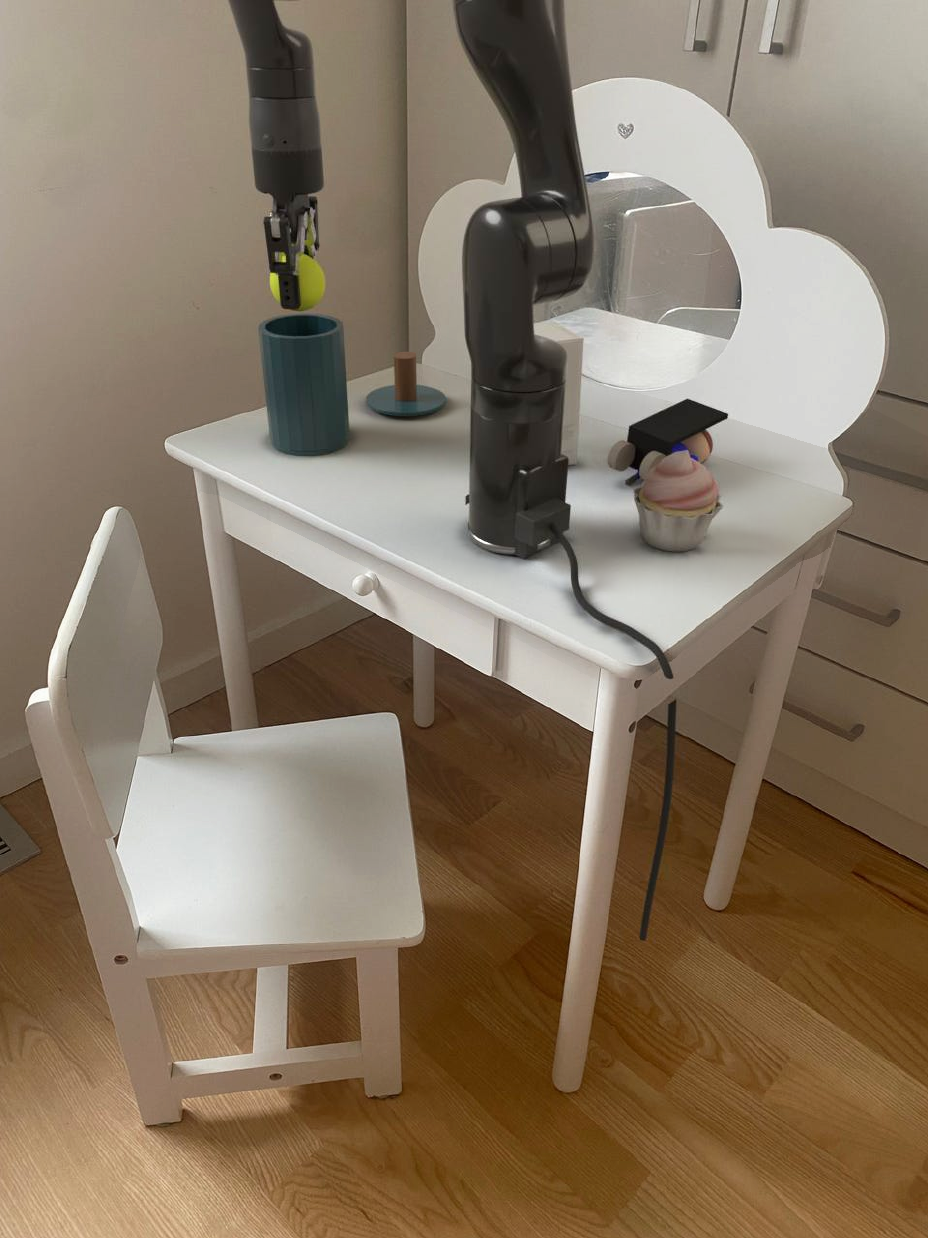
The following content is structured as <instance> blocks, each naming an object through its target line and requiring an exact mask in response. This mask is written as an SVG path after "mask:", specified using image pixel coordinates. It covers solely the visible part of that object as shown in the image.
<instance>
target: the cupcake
mask: <svg viewBox="0 0 928 1238" xmlns="http://www.w3.org/2000/svg"><path fill="white" fill-rule="evenodd" d="M632 491H633V494H634V497H633V500H634V504H635V507H636V509H637V512H638V520H639V530H640V534H641V536H642V539H643V541H644V542H645V543H646V544H648V545H650V546H651V547H654V548H656V549H658V550H662V551H667V552H675V553H676V552H687V551H691V550H693V549H696V548H698V547H699V545H700V544H701V543H702V542H703V540H704V537H705V535H706V533H707V531H708V529H709V527H710V525H711V524H712V521H713V519H714V518H716V516H717V515H718V514H719V512H720V511H721V510H723V508H724V507H725V506H724V504H723V503H722V502H720V501H721V498H722V495H721V494H720V492H719V484H718V482H717V481H716V480H715V478H714V477H713V476H711V474H710V471H709V469H708V468H706V466H705V465H704V464H703V463H699V462H697V461H696V460H694V459H692V458H690V455H689V452H688V450H685V451H680V452H675V453H673V454H671V455H669V456H667V457H665V458H664V459H662V460H661V462H660V464H659V465H657V466H655V467H653V468H652V469H650V471H649V472H648V473H647V474H646V477H645V479H644V480H643V482H642V483H641V486H640V487H635V488H634V489H633V490H632Z"/></svg>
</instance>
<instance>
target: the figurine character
mask: <svg viewBox="0 0 928 1238" xmlns="http://www.w3.org/2000/svg"><path fill="white" fill-rule="evenodd" d="M728 418H729V413H727V412H725V411H722V410H720V409H716V408H714V407H712V406H709V405H706V404H703V403H701V402H698V401H695V400H692V399H690V398H685V399H684V400H683V399H682V400H681V401H679V402H677V403H675V404H673V405H671V406H668V407H666V408H664V409H661V410H660V411H657V412H656V413H653V414H652V415H649V416H647V417H645V418H643V419H640V420H639V421H637V422H635V423H632V424H630V425H628V433H627V439H626V440H624V439H620V440H618V441H616V442H615V443H614V444H613V446H612V447H611V448H610V450H609V452H608V455H607V461H606V462H607V466H608V467H609V468H610V469H613V470H615V471H617V472H624V471H626V470H627V469H628V468H631V469H633V470H636V473H635V474H633V475H631V476H629V477H628V478H627V479H625V480H624V485H626V486H631V485H632V484H633V483H636V482H637V481H638V480H641V479H642V480H643V481H644V479H645V477H646V474H647V473H648V472H649V471H650V469H652V468H653V467H655V466H657V465H659V464H660V462H661V460H662V459H664V458H665V457H667V456H669V455H671V454H673V453H675V452H680V451H685V450H688V452H689V455H690V458H692V459H694V460H696V461H697V462H699V463H701V464H703V463H704V462H706V461H707V460H708V459H709V458H710V456H711V454H712V452H713V448H714V442H713V437H712V435H711V433H710V432H709V431H708V430H707V429H710V428H711V427H714V426H716V425H717V424H720V423H722V422H723V421H726V420H727V419H728Z"/></svg>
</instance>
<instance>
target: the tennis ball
mask: <svg viewBox="0 0 928 1238" xmlns="http://www.w3.org/2000/svg"><path fill="white" fill-rule="evenodd" d="M282 262H286V257H285V255H283V257H282ZM298 275H299V285H300V297H301V306H300V307H299V308H298V309H297V310H292V309H289V310H290V311H293V312H305V311H308V310H311V309H313V308H315V307H316V305H318V304H319V303H320V302H321V300H322V298H323V296H324V294H325V290H326V276H325V273H324V270H323V269H322V267H321V265H320V264H319V263H318V261H316V259H312V258H311V257H309V256H307V255H305V254H303V255H301V256H300V257H299V274H298ZM269 286H270V290H271V293H272V295H273V297H274V299H275V300H276V301H277V302H278V304H280V305H281V303H280V292H279V281H278V275H276V274H275V273H271V272H270V274H269Z"/></svg>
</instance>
